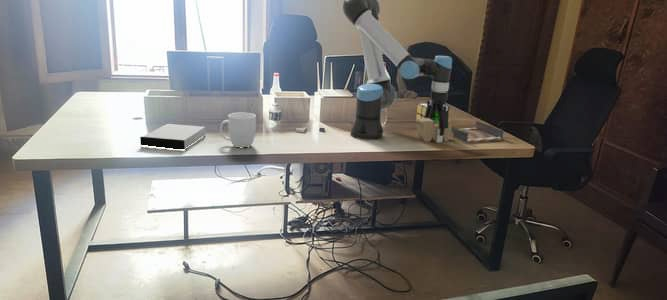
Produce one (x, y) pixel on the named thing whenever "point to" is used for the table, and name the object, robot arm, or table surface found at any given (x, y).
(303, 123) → the table surface
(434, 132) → the toy train
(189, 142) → the disc drive
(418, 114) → the puzzle cube
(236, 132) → the mug
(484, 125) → the depot bay
